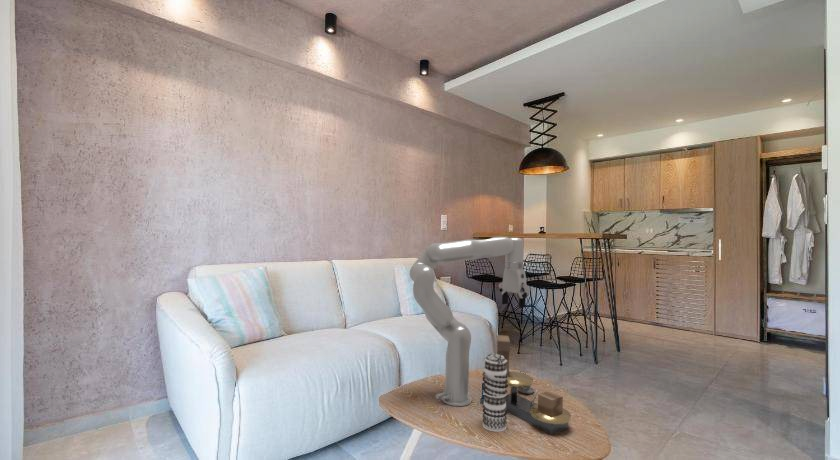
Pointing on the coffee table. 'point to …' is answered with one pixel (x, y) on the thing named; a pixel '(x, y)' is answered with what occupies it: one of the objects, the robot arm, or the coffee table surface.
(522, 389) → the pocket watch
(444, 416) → the coffee table surface
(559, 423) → the balance
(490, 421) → the decorative candle
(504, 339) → the decorative block
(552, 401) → the walnut block
